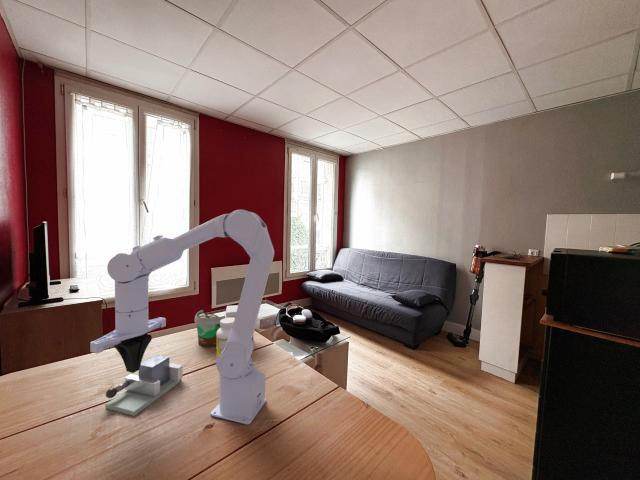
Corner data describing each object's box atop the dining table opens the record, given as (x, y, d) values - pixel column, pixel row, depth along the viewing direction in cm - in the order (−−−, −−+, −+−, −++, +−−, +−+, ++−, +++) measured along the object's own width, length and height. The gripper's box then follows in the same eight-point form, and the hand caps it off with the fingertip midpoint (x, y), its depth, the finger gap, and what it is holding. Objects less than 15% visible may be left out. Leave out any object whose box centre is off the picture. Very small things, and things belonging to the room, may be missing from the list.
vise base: (182, 381, 67) (182, 365, 67) (135, 416, 55) (135, 397, 54) (155, 375, 69) (155, 360, 69) (104, 408, 57) (104, 389, 56)
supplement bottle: (222, 355, 80) (223, 315, 80) (243, 357, 80) (243, 316, 79) (211, 367, 74) (212, 323, 73) (234, 369, 73) (234, 325, 72)
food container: (186, 343, 88) (186, 314, 88) (202, 336, 94) (202, 309, 93) (210, 352, 82) (211, 321, 82) (226, 344, 88) (226, 315, 87)
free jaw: (160, 392, 60) (159, 380, 60) (134, 410, 54) (134, 397, 54) (130, 385, 63) (130, 374, 62) (103, 402, 57) (103, 389, 56)
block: (152, 391, 61) (152, 367, 61) (138, 388, 62) (138, 364, 62) (169, 379, 66) (169, 357, 65) (156, 377, 67) (156, 354, 66)
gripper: (150, 297, 63) (150, 351, 64) (79, 316, 49) (80, 385, 50) (172, 301, 61) (172, 357, 62) (104, 322, 47) (105, 394, 48)
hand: (133, 370), depth 56 cm, fingers closed
